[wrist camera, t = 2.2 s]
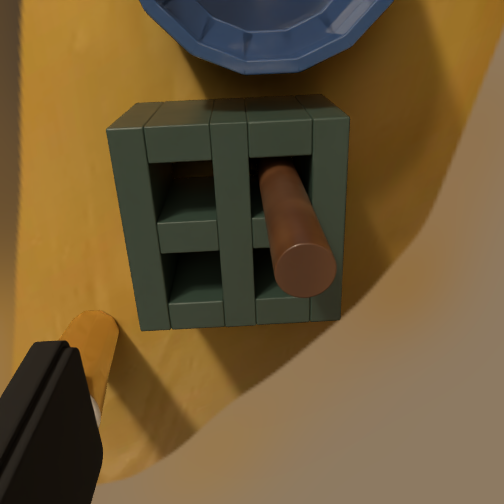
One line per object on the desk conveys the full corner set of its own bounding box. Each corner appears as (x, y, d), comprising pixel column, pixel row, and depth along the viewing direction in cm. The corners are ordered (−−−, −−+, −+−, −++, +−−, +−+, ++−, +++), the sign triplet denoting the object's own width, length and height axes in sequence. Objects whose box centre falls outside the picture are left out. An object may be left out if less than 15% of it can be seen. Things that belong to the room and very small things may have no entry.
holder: (322, 93, 27) (350, 116, 20) (318, 260, 31) (340, 320, 25) (135, 102, 26) (105, 128, 20) (159, 268, 31) (140, 332, 25)
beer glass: (85, 371, 34) (33, 495, 25) (49, 311, 32) (-22, 425, 23) (144, 354, 34) (112, 475, 25) (112, 293, 32) (64, 401, 23)
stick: (286, 132, 27) (338, 241, 14) (286, 165, 28) (336, 296, 15) (253, 134, 27) (273, 245, 14) (254, 166, 28) (274, 300, 15)
